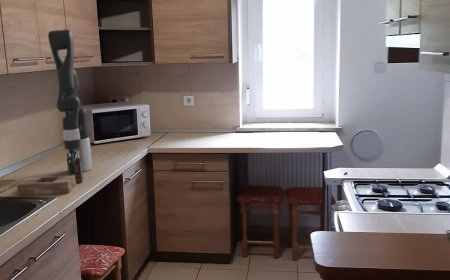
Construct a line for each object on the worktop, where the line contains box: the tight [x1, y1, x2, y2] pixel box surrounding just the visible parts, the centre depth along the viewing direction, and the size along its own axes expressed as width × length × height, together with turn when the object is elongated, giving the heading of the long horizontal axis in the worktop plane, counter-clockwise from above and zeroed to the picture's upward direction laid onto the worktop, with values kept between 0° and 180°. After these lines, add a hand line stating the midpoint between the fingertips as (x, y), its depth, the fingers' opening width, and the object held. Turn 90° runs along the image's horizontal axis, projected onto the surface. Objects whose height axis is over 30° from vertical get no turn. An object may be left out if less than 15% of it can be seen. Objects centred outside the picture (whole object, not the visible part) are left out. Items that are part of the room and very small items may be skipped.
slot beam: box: [16, 174, 77, 197], centre depth 220 cm, size 14×22×5 cm, turn 94°
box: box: [66, 157, 84, 184], centre depth 232 cm, size 6×4×12 cm
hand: (75, 171), depth 232 cm, fingers open, 8 cm apart
